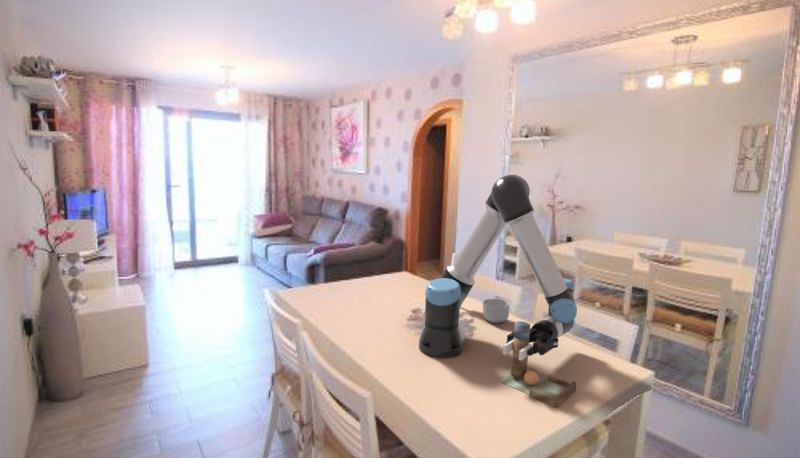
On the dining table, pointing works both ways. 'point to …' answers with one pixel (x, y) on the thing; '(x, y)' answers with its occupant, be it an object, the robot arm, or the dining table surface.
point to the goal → (543, 389)
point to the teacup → (495, 310)
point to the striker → (519, 343)
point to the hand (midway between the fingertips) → (512, 352)
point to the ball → (531, 377)
